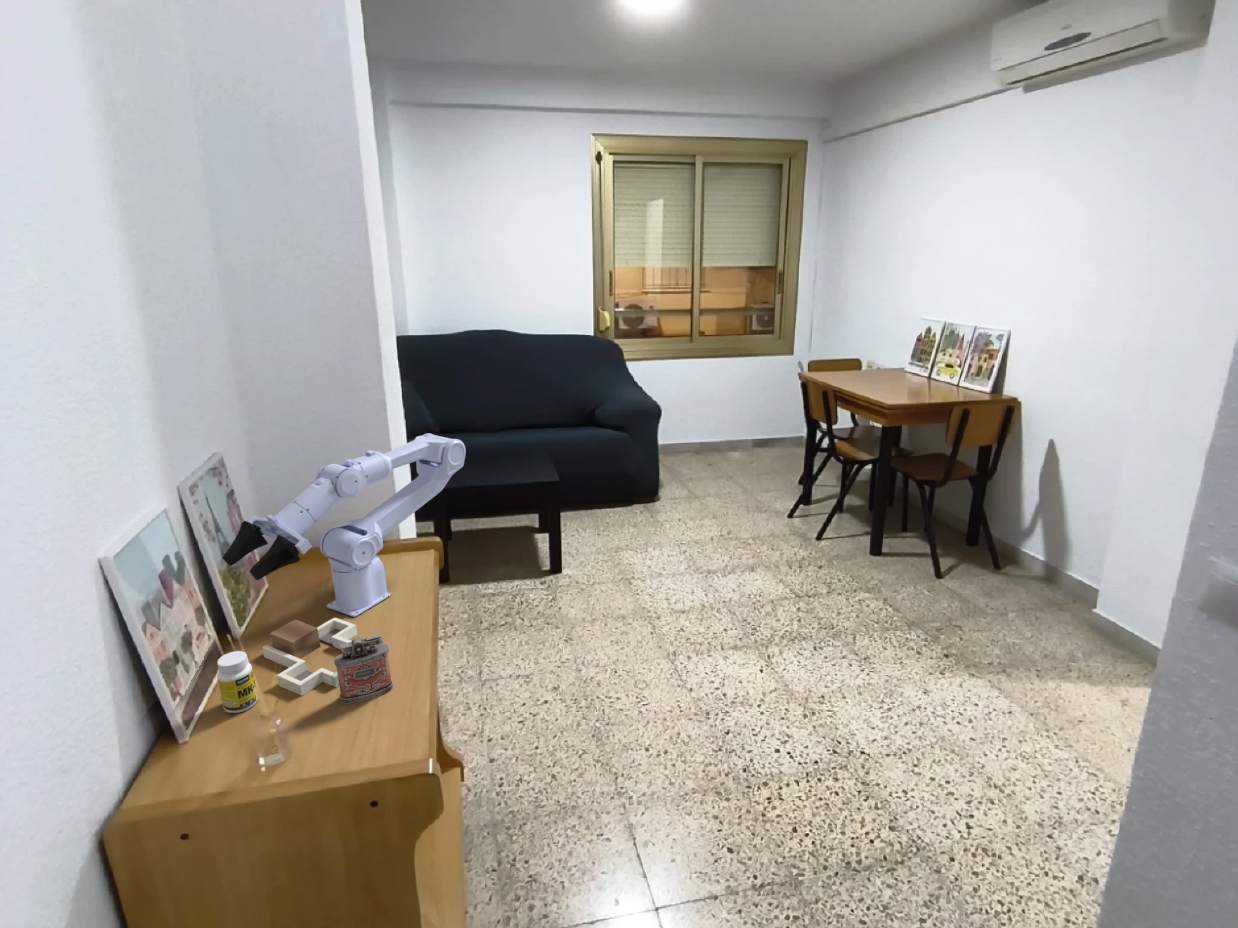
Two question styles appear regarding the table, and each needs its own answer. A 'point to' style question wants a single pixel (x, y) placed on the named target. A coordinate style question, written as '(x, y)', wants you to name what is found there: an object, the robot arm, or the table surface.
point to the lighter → (363, 669)
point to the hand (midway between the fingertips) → (239, 568)
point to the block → (296, 639)
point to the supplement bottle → (236, 682)
